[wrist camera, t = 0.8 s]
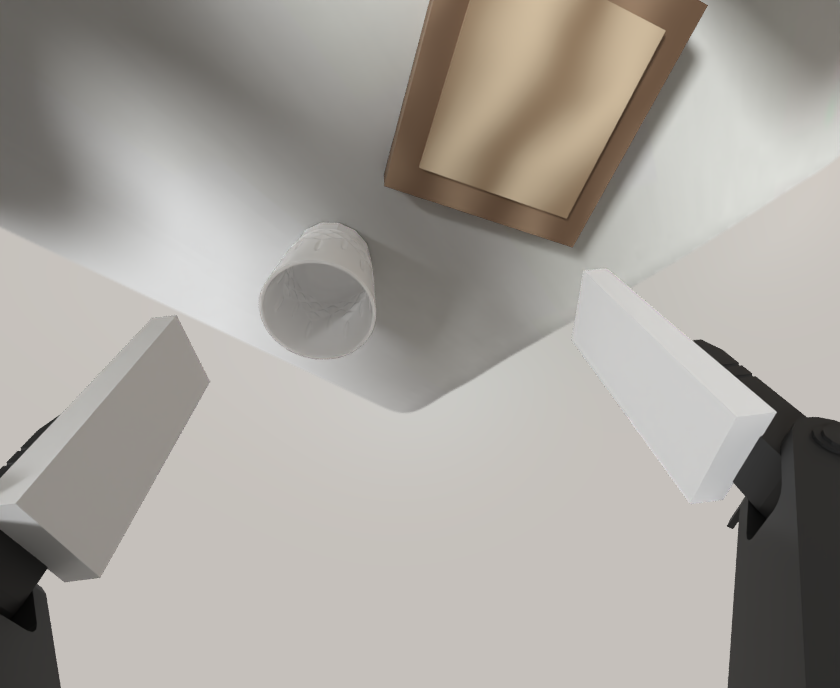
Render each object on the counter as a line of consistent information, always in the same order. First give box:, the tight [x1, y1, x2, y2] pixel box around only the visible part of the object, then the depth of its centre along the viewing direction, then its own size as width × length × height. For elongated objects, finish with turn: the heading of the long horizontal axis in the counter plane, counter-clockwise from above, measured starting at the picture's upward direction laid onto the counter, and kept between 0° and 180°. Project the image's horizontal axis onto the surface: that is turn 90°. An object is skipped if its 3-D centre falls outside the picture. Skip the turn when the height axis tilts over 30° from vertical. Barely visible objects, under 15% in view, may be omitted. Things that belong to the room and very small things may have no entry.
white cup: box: [259, 222, 376, 359], centre depth 31 cm, size 8×8×10 cm
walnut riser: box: [384, 0, 708, 247], centre depth 27 cm, size 16×16×4 cm
